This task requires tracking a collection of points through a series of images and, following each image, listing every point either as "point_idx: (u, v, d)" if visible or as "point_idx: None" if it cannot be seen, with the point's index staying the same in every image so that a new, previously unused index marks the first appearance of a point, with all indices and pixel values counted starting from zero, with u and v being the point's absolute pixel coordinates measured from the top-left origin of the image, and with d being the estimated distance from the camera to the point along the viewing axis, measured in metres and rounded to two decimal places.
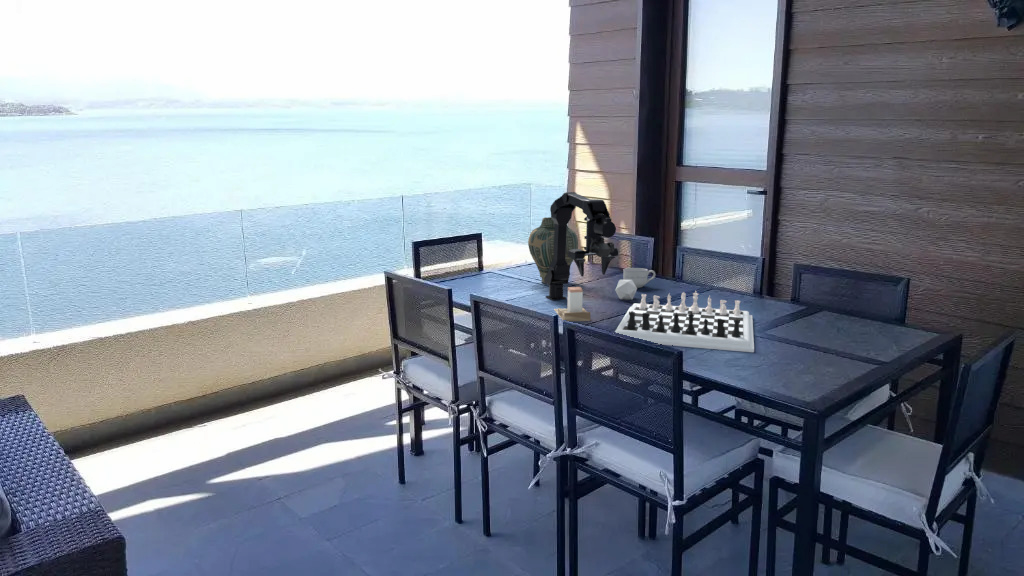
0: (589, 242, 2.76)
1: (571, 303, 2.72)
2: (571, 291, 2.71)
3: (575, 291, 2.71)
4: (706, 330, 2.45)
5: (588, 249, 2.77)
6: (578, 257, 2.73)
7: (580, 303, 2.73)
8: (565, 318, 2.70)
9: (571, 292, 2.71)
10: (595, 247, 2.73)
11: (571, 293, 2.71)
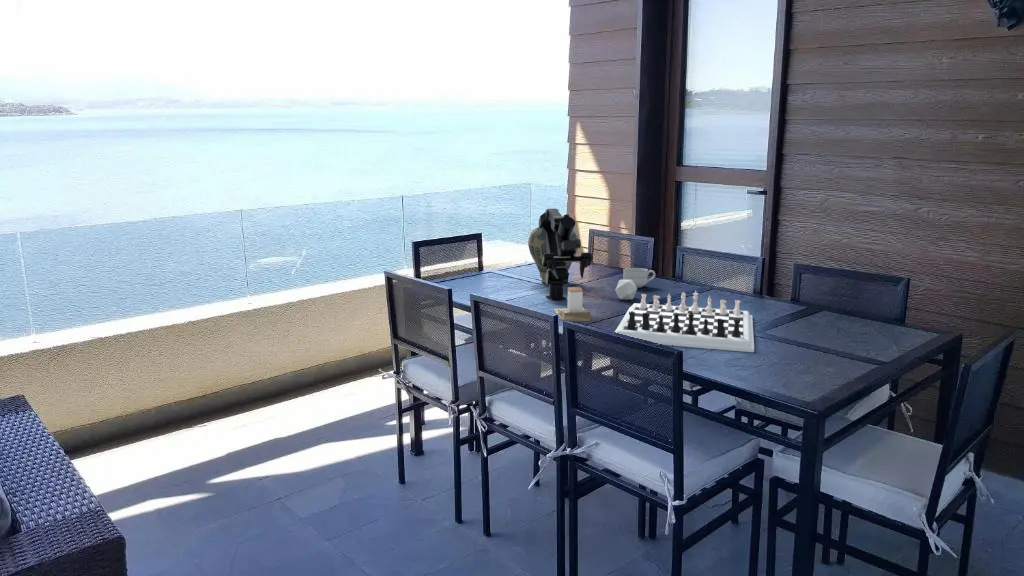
0: (559, 248, 2.87)
1: (571, 303, 2.72)
2: (571, 291, 2.71)
3: (575, 291, 2.71)
4: (706, 330, 2.45)
5: (559, 254, 2.86)
6: (547, 256, 2.82)
7: (580, 303, 2.73)
8: (565, 318, 2.70)
9: (571, 292, 2.71)
10: (562, 245, 2.83)
11: (571, 293, 2.71)
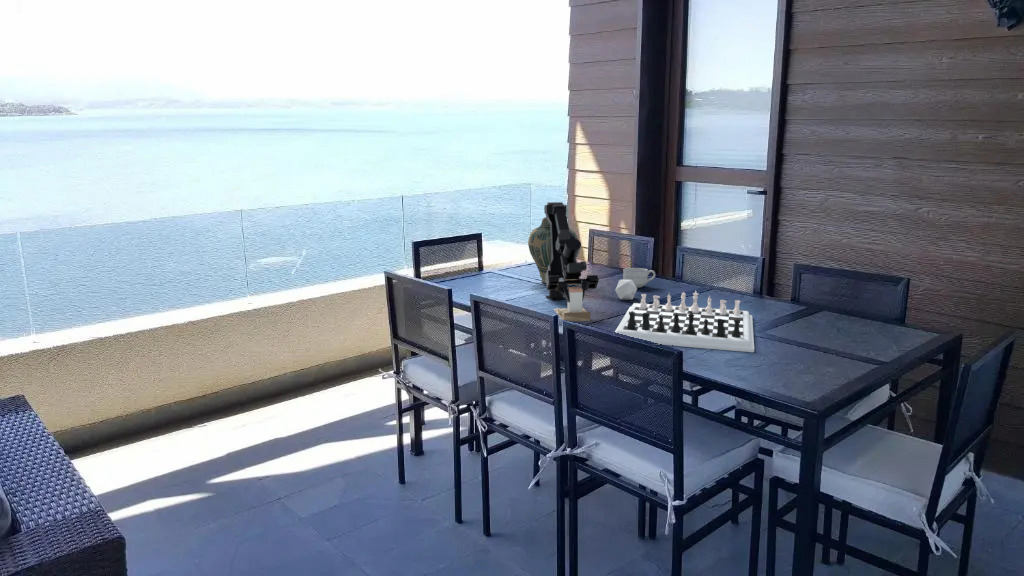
0: (564, 270, 2.79)
1: (571, 303, 2.72)
2: (571, 291, 2.71)
3: (575, 291, 2.71)
4: (706, 330, 2.45)
5: (565, 277, 2.77)
6: (552, 279, 2.73)
7: (580, 303, 2.73)
8: (565, 318, 2.70)
9: (571, 292, 2.71)
10: (567, 267, 2.75)
11: (571, 293, 2.71)
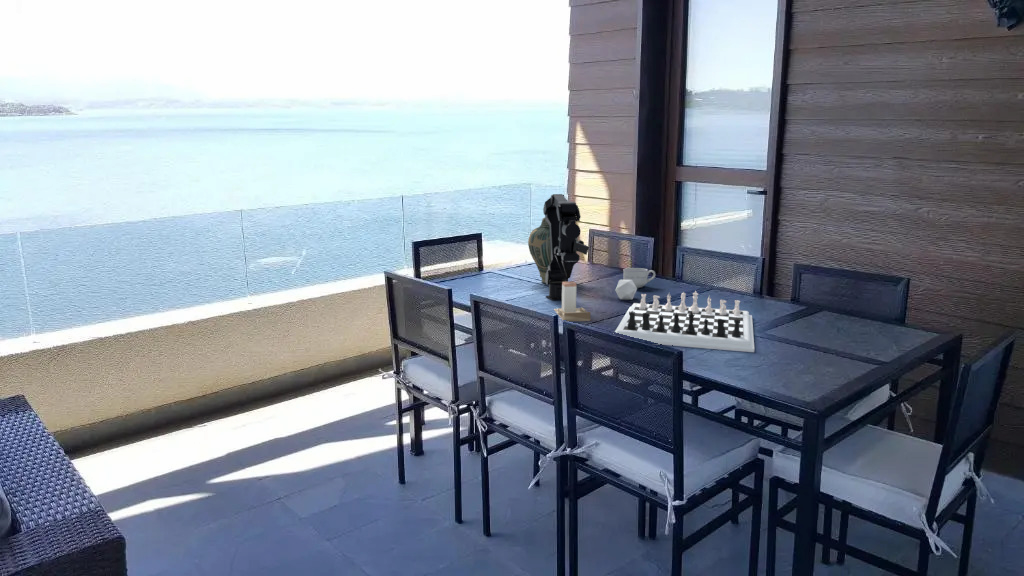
0: (571, 243, 2.83)
1: (565, 297, 2.82)
2: (565, 285, 2.81)
3: (569, 285, 2.81)
4: (707, 330, 2.45)
5: (570, 250, 2.84)
6: None
7: (574, 297, 2.82)
8: (565, 318, 2.70)
9: (565, 286, 2.81)
10: (581, 246, 2.84)
11: (565, 287, 2.81)
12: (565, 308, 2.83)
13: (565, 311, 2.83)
